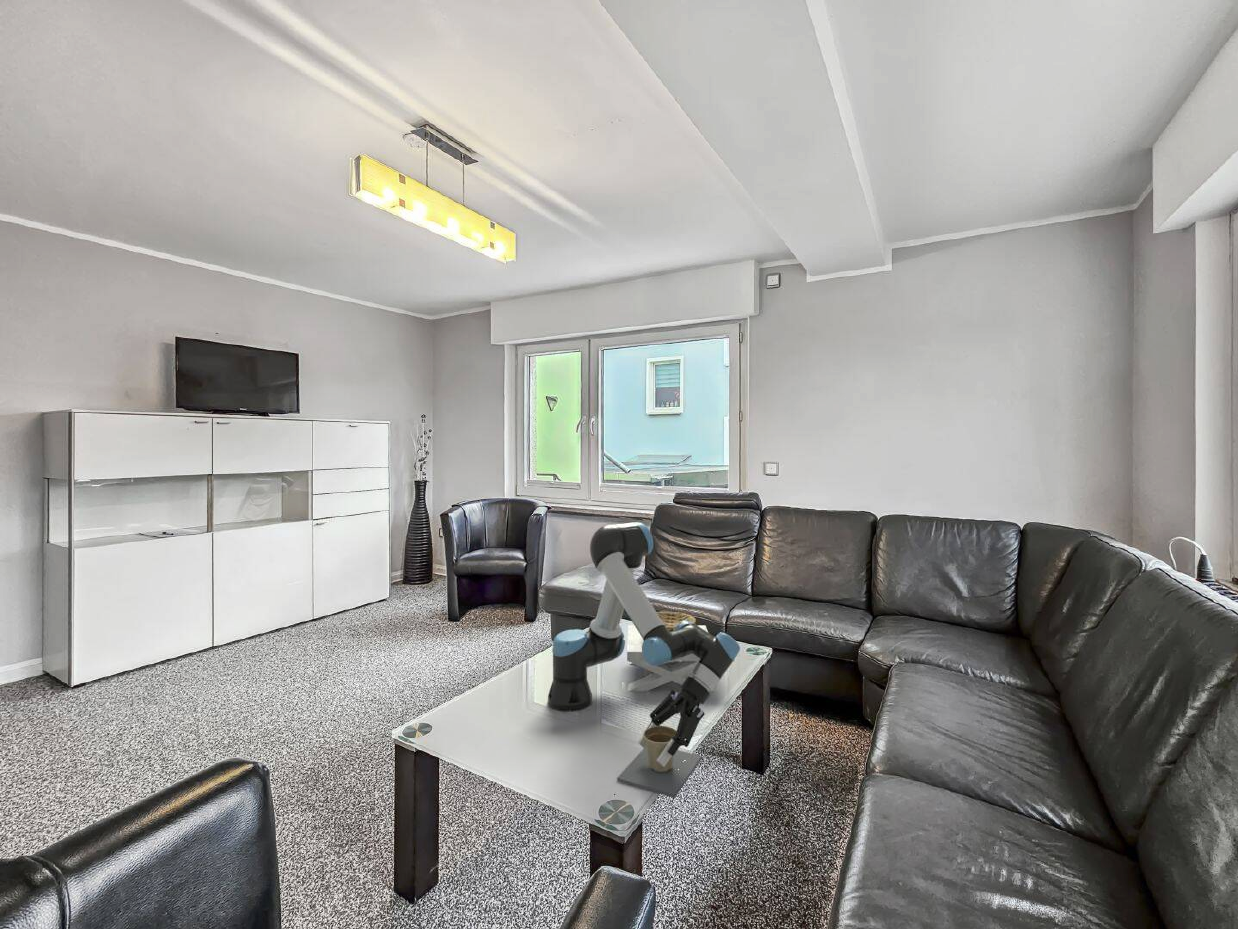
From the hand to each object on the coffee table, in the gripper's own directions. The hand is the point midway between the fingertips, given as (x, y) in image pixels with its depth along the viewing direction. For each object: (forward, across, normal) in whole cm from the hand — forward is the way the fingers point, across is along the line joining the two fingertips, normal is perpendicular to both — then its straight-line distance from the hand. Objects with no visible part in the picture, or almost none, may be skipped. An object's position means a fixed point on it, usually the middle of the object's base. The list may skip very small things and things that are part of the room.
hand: (650, 754), depth 147 cm
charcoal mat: (+1, 0, -6) cm, 6 cm away
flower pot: (+1, 0, -5) cm, 5 cm away
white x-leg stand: (-24, +55, -32) cm, 68 cm away
